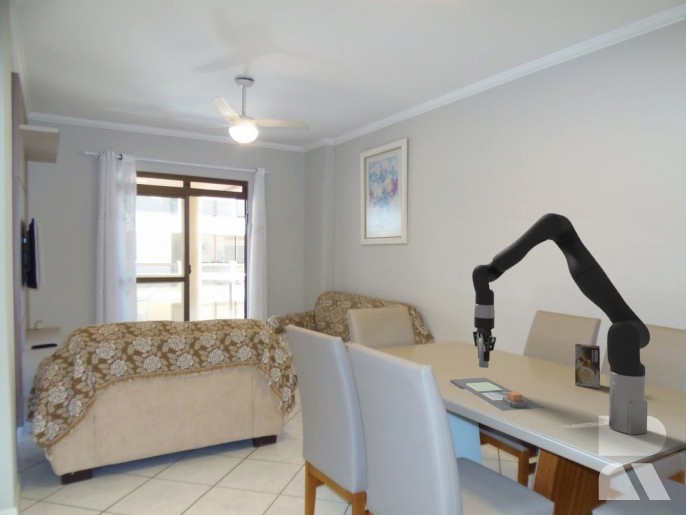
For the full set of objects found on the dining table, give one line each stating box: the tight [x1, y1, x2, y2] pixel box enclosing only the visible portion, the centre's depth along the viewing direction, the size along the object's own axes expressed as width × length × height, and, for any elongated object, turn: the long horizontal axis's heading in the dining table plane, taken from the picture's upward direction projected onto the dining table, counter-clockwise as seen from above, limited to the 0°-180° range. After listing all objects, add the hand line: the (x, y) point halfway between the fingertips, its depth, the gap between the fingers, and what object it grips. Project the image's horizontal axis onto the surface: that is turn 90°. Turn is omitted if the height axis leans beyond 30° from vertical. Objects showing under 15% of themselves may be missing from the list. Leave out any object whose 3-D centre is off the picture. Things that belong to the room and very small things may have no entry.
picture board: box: [450, 377, 545, 412], centre depth 177 cm, size 38×16×3 cm, turn 13°
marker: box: [478, 338, 490, 369], centre depth 184 cm, size 4×4×11 cm
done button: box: [507, 391, 524, 402], centre depth 164 cm, size 4×4×2 cm
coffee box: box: [574, 343, 601, 389], centre depth 192 cm, size 9×6×16 cm
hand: (483, 359), depth 184 cm, fingers closed on marker, 3 cm apart
